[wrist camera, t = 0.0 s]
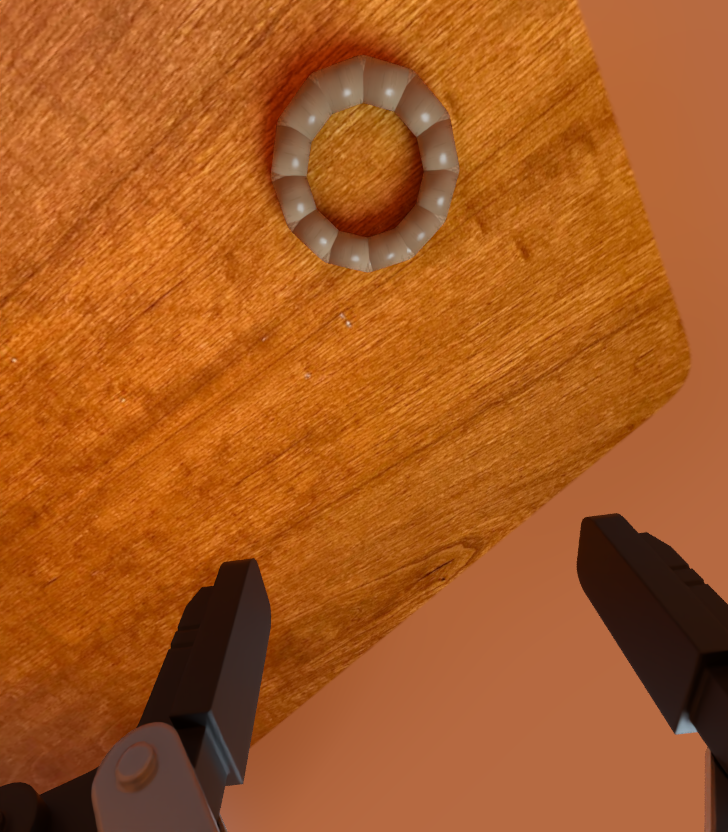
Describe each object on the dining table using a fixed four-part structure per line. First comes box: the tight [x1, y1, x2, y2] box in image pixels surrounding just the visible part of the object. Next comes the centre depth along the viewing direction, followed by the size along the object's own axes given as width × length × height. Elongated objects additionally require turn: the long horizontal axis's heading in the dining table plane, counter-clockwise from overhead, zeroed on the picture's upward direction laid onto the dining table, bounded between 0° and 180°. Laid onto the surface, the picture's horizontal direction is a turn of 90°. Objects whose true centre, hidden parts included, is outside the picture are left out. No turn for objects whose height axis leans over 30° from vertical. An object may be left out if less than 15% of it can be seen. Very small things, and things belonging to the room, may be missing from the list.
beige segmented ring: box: [271, 55, 459, 272], centre depth 23 cm, size 10×10×2 cm
